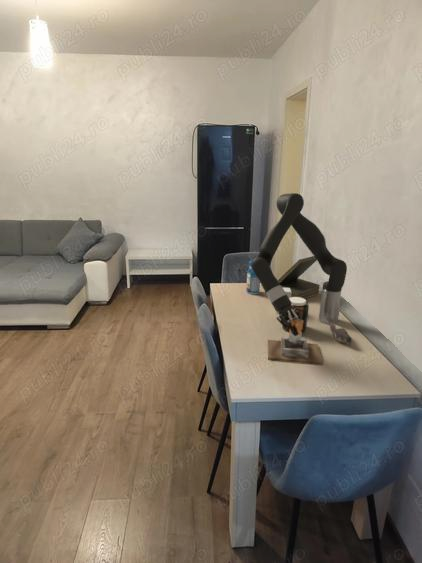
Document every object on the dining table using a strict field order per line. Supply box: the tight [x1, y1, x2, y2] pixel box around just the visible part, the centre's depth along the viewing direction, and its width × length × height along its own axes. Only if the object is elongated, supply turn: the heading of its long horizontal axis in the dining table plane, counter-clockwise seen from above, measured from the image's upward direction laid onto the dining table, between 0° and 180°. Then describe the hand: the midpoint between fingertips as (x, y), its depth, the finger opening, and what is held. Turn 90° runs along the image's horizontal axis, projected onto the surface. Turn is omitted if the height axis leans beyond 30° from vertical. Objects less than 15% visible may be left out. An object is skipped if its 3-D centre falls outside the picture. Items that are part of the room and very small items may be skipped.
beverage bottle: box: [245, 259, 261, 295], centre depth 226 cm, size 8×8×20 cm
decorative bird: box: [325, 317, 353, 346], centre depth 173 cm, size 6×25×5 cm, turn 8°
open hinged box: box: [277, 255, 321, 300], centre depth 225 cm, size 23×20×25 cm
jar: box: [281, 297, 310, 333], centre depth 179 cm, size 12×12×15 cm
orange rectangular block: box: [287, 318, 303, 344], centre depth 154 cm, size 5×4×10 cm
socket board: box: [267, 337, 324, 366], centre depth 157 cm, size 22×16×4 cm
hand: (299, 333), depth 153 cm, fingers closed on orange rectangular block, 3 cm apart
